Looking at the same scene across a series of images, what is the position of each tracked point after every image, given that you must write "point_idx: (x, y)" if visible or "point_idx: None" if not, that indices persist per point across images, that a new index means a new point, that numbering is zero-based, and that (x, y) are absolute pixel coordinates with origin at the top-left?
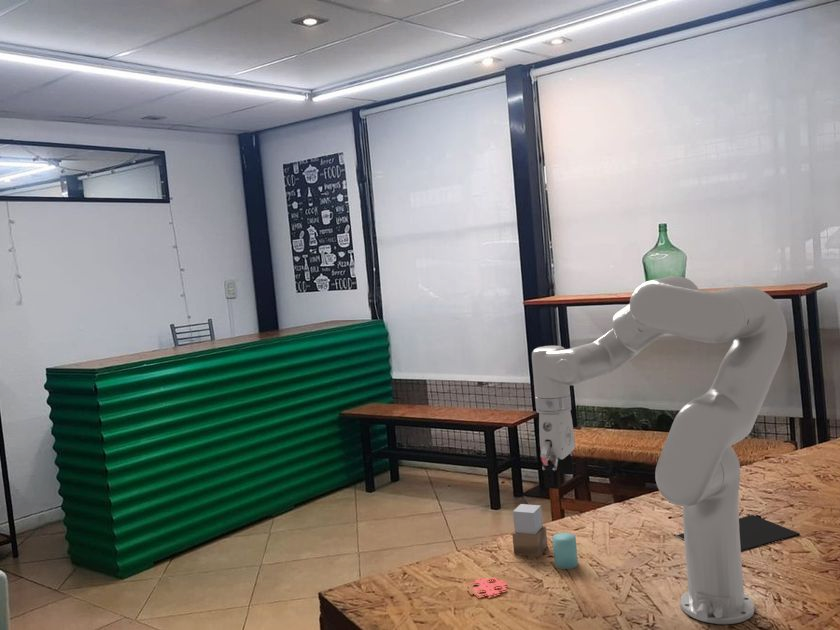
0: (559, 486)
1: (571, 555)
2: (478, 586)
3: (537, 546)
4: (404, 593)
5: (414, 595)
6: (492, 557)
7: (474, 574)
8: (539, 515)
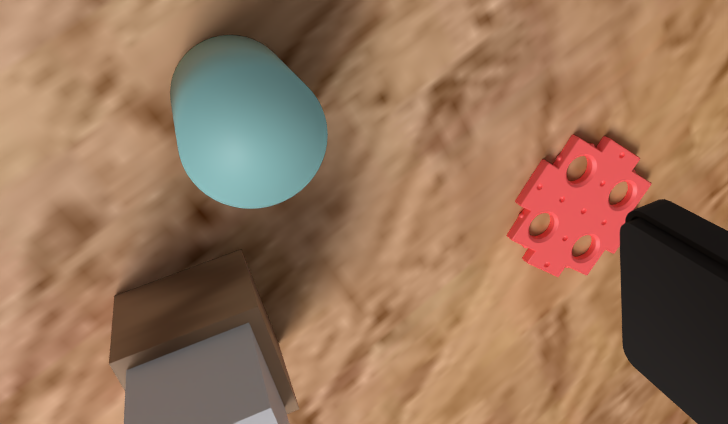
0: (654, 209)
1: (267, 53)
2: (591, 233)
3: (248, 277)
4: None
5: None
6: (353, 375)
7: (500, 318)
8: (164, 411)
